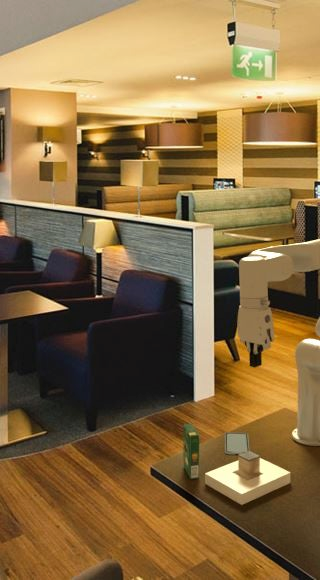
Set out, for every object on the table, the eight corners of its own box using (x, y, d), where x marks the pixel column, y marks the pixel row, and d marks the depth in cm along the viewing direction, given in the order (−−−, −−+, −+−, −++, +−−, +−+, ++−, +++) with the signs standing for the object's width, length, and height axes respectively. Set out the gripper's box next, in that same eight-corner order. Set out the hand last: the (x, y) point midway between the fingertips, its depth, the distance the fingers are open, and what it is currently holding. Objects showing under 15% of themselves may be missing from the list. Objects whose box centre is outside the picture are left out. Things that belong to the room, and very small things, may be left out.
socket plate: (253, 464, 179) (253, 454, 178) (290, 482, 168) (290, 472, 167) (205, 483, 168) (205, 473, 168) (241, 504, 157) (241, 494, 157)
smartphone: (247, 433, 199) (249, 453, 185) (247, 435, 200) (249, 455, 185) (224, 432, 200) (224, 452, 185) (224, 434, 200) (224, 455, 186)
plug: (249, 478, 171) (249, 450, 169) (259, 483, 168) (259, 455, 166) (238, 482, 169) (238, 454, 167) (248, 488, 165) (248, 460, 164)
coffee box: (200, 479, 171) (199, 434, 168) (190, 480, 170) (189, 435, 168) (193, 466, 178) (192, 422, 176) (183, 467, 178) (182, 423, 176)
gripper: (284, 303, 167) (285, 368, 171) (243, 295, 179) (245, 356, 183) (265, 309, 163) (266, 375, 167) (224, 300, 174) (227, 363, 178)
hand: (255, 365), depth 175 cm, fingers closed
